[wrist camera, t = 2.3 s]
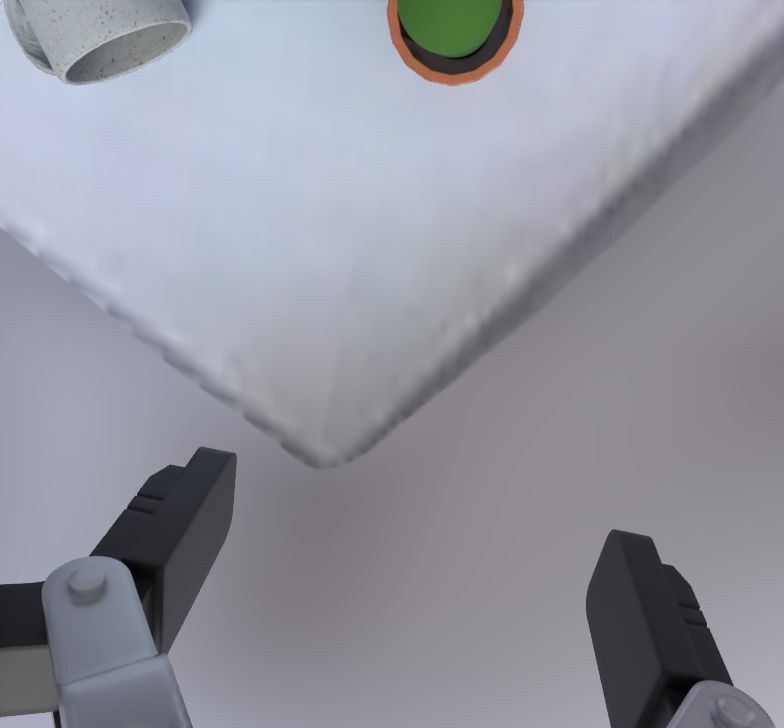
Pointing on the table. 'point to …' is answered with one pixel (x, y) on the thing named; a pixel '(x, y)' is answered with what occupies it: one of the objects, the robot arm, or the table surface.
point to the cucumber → (449, 24)
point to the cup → (463, 68)
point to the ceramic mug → (96, 35)
